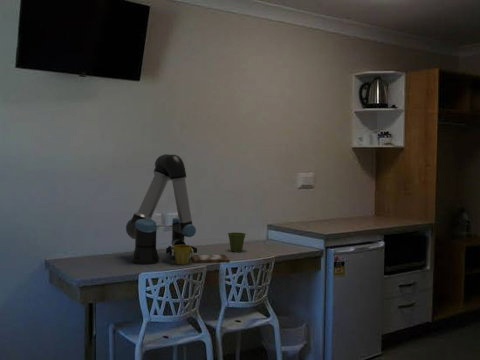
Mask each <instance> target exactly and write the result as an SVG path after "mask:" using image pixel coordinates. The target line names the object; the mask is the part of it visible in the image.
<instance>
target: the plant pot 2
mask: <svg viewBox="0 0 480 360" xmlns="http://www.w3.org/2000/svg"><path fill="white" fill-rule="evenodd" d="M227 235H228V239H229V245H230V251H231V252H235V253H240V252H243V248H244V247H243V246H244V242H245V238H246V235H247V233H245V232H236V231H235V232H227Z"/></svg>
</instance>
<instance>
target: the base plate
mask: <svg viewBox="0 0 480 360" xmlns="http://www.w3.org/2000/svg"><path fill="white" fill-rule="evenodd" d="M191 259H192V261H193V263H194V264H212V263H213V264H215V263H216V264H219V263H220V262H226V263H230V261H231V260H230V259H229V257H228V256H226V254H193V255H192V254H191Z"/></svg>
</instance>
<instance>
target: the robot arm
mask: <svg viewBox="0 0 480 360" xmlns="http://www.w3.org/2000/svg"><path fill="white" fill-rule="evenodd" d="M153 174H154V176H153V178H152V180H151V182H150V185H149V186H148V189H147V191H146V192H145V196H144V197H143V200H142V201H141V204H140V207H139V209H138V210H137V212H134V213H133V216H132V217H131V219H130V220H128V221H127V223H126V225H125V232H126V234H127V235H128V236H129V237H130V238H131V239H133V240H134V243H135V245H134V246H135V247H134V250H133V253H132V256H131V263H132V264H133V263H134V264H139V265H150V264H157V263H160V256H159V253H158V250H157V249H158V248H157V227H158V226H157V222H156V221H155V220H153V219H152V217H153V215H154V212H155V210H156V209H157V206H158V204H159V201H160V199H161V197H162V195H163V192H164V191H165V188H166V186H167V184H168V182H169V181H171V182H172V187H173V193H174V200H175V205H176V210H177V217H174V218H172V223H171V225H172V226H171V229H172V230H171V231H172V232H171V245H168V247H166V248H165V253H166V254H169V256H172V257H173V256H174V257H175V254H174V250H173V246H175V245H187V244H186V241H185V238H192V237H194V236H195V234H196V231H197V229H196V226H194V225H193V220H192V213H191V209H190V207H191V206H190V202H189V195H188V190H187V189H188V188H187V183H186V178H187V172H186V167H185V164H184V161H183V158H181V157H180V156H179V155H177V154H169V153H168V154H165V153H164V154H162V155H160V156H158V157H157V158H156V160H155V161H154V169H153ZM190 246H191V247H192V249H191V253H190V255H191V256H192V255H194V254H197V253H198V248H197V247H195V246H193V245H190Z"/></svg>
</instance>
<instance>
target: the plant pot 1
mask: <svg viewBox="0 0 480 360" xmlns="http://www.w3.org/2000/svg"><path fill="white" fill-rule="evenodd" d="M191 246H192V245H190V244H186V245H175V246H172V247H173V250H174V257H175V263H176V264H177V265H187V264H189V263H190V262H189V260H190V255H191V249H192V247H191Z"/></svg>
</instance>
